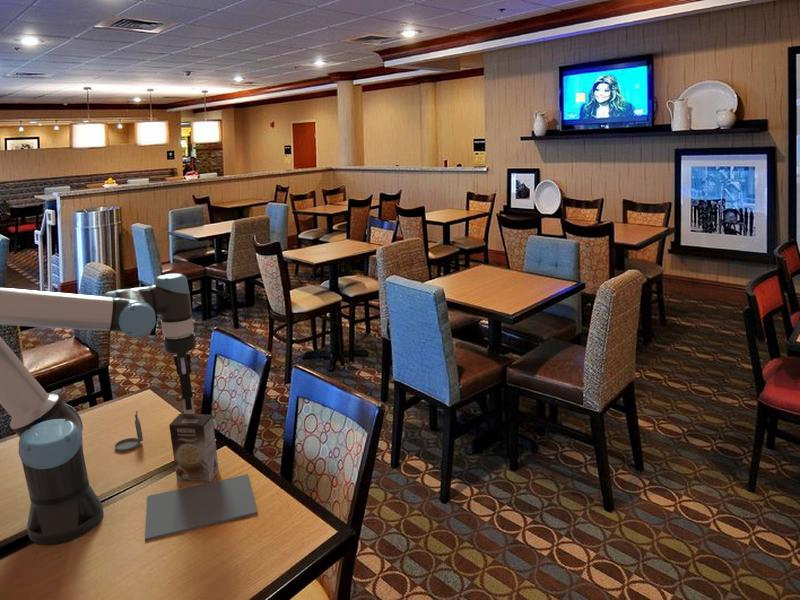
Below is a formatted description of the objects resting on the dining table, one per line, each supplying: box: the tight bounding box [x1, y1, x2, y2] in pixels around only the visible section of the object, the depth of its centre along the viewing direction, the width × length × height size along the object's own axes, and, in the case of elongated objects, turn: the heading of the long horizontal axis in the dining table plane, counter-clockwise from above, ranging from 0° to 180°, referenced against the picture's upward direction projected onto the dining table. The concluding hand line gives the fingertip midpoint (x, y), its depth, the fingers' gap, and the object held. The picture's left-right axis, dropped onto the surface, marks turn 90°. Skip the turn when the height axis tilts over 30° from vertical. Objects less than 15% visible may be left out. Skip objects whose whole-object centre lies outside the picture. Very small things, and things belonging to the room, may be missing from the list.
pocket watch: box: [114, 410, 144, 452], centre depth 170 cm, size 8×8×10 cm
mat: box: [144, 473, 259, 542], centre depth 142 cm, size 24×18×1 cm
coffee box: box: [168, 413, 220, 483], centre depth 153 cm, size 9×6×16 cm
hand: (190, 418), depth 159 cm, fingers closed
